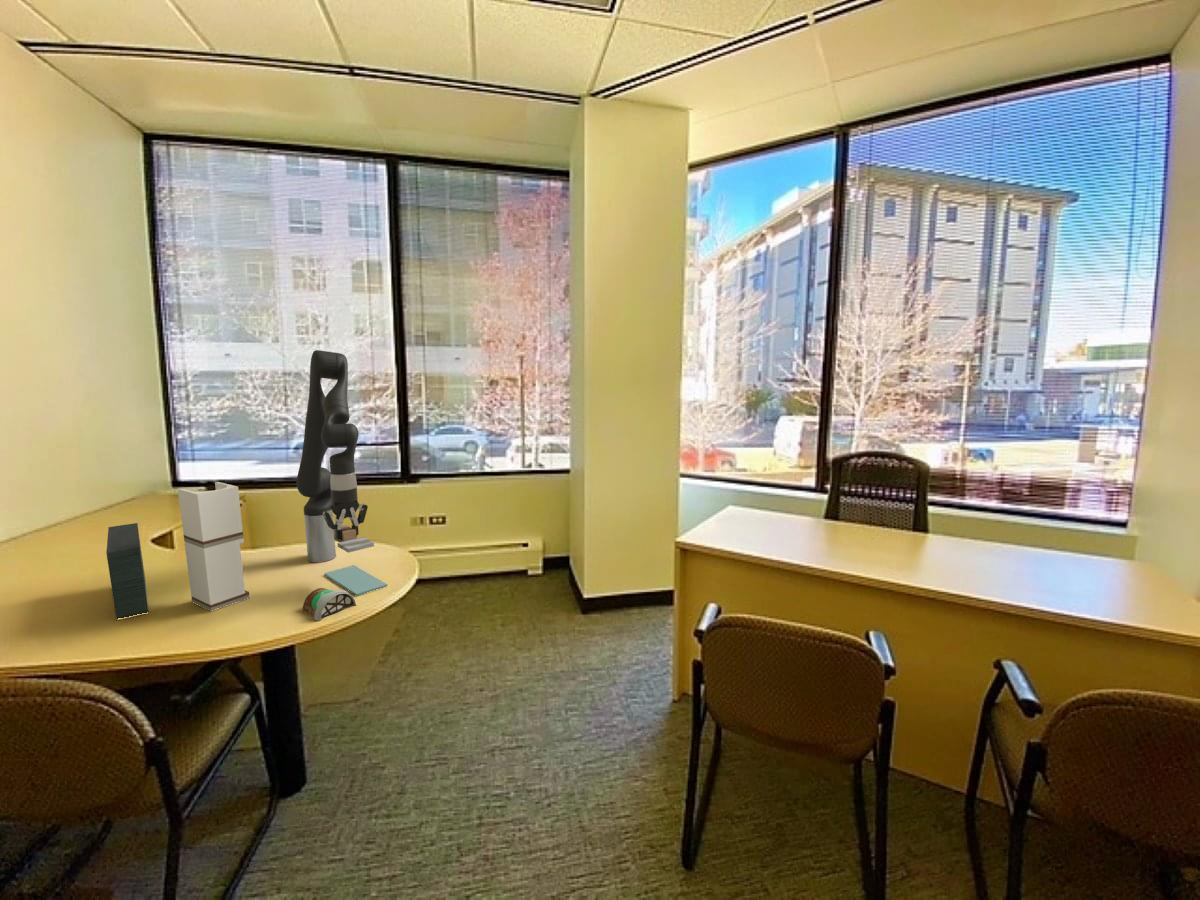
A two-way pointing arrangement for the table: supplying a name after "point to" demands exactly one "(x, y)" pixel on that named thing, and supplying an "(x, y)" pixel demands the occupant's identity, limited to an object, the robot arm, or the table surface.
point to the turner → (352, 540)
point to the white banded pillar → (213, 545)
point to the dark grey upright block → (126, 570)
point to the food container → (326, 602)
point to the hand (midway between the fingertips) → (347, 538)
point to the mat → (355, 580)
